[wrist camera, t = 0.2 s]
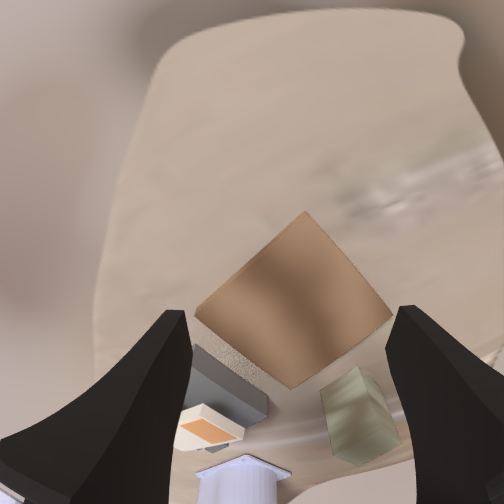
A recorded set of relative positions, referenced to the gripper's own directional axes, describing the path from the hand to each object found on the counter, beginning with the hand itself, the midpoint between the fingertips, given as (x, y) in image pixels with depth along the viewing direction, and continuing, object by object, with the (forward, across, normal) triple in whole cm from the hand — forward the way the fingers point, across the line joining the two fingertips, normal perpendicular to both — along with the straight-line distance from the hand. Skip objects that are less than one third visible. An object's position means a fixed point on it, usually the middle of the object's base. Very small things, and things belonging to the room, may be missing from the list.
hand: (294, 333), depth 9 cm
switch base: (+8, +7, +15) cm, 18 cm away
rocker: (+4, +7, +15) cm, 17 cm away
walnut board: (+9, -1, +7) cm, 11 cm away
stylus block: (+8, -7, +15) cm, 18 cm away
